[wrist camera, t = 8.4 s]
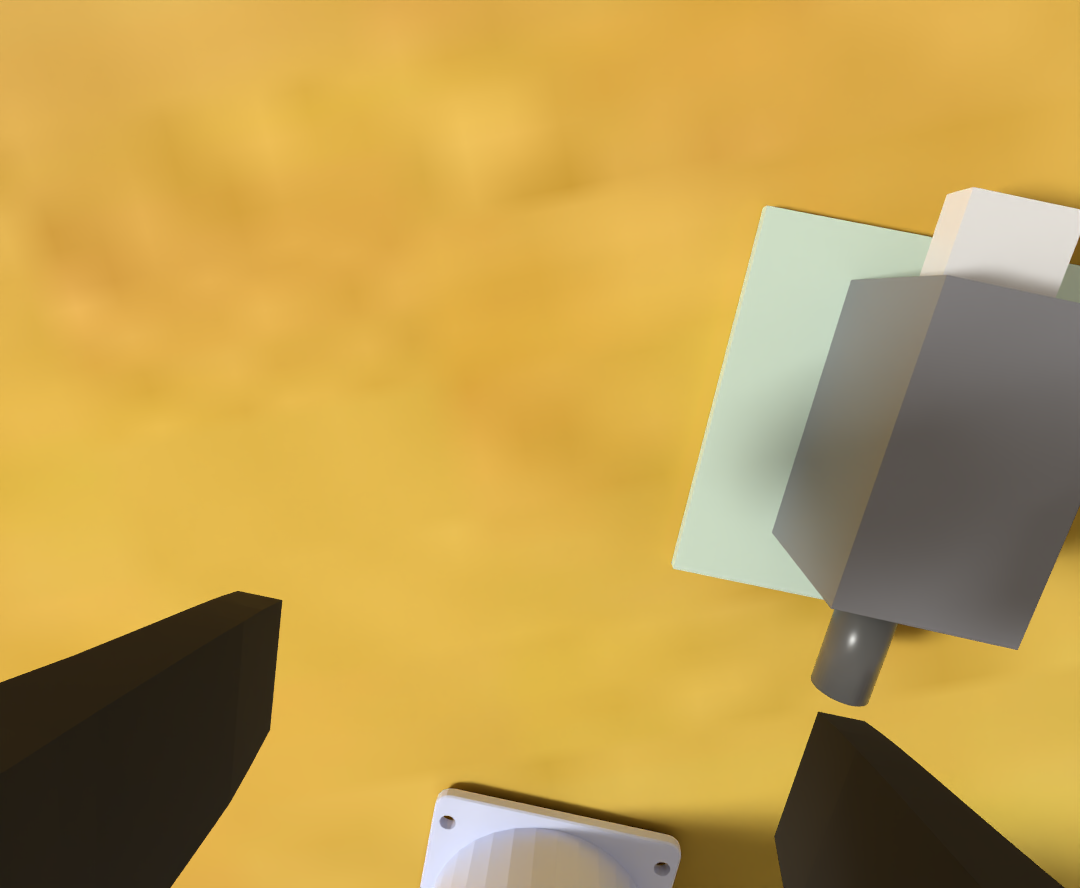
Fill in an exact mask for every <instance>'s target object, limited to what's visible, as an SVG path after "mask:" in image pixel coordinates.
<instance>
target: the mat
mask: <svg viewBox="0 0 1080 888" xmlns="http://www.w3.org/2000/svg"><path fill="white" fill-rule="evenodd" d="M932 238H933V237H928V236H923V235H918V234H913V233H907V232H902V231H897V230H892V229H887V228H881V227H876V226H871V225H866V224H861V223H855V222H850V221H845V220H840V219H835V218H829V217H824V216H819V215H814V214H808V213H803V212H798V211H793V210H788V209H782V208H777V207H772V206H765V207H763V210H762V214H761V218H760V221H759V225H758V229H757V233H756V237H755V241H754V245H753V249H752V253H751V256H750V260H749V264H748V268H747V272H746V276H745V280H744V284H743V287H742V291H741V295H740V299H739V303H738V307H737V311H736V315H735V318H734V322H733V326H732V330H731V334H730V338H729V342H728V346H727V349H726V353H725V357H724V361H723V365H722V369H721V373H720V377H719V380H718V384H717V388H716V392H715V396H714V400H713V404H712V408H711V412H710V415H709V419H708V423H707V427H706V431H705V435H704V439H703V443H702V446H701V450H700V454H699V458H698V462H697V466H696V470H695V474H694V477H693V481H692V485H691V489H690V493H689V497H688V501H687V505H686V508H685V512H684V516H683V520H682V524H681V528H680V532H679V536H678V539H677V543H676V547H675V551H674V555H673V559H672V566H673V569H678V570H682V571H687V572H692V573H697V574H702V575H707V576H712V577H716V578H721V579H726V580H731V581H736V582H741V583H746V584H750V585H755V586H760V587H765V588H770V589H775V590H780V591H784V592H789V593H794V594H799V595H804V596H809V597H814V598H818V599H823V598H822V596H821V595H820V594H819V592H818V591H817V590H816V589H815V587H814V586H813V585H812V584H811V582H810V581H809V580H808V578H807V577H806V576H805V575H804V573H803V572H802V571H801V569H800V568H799V567H798V566H797V564H796V563H795V562H794V560H793V559H792V558H791V557H790V555H789V554H788V553H787V551H786V550H785V549H784V548H783V546H782V545H781V544H780V542H779V541H778V540H777V539H776V537H775V536H774V535H773V534H772V530H773V527H774V524H775V521H776V518H777V514H778V511H779V508H780V505H781V502H782V498H783V495H784V492H785V489H786V486H787V483H788V479H789V476H790V473H791V470H792V467H793V463H794V460H795V457H796V454H797V451H798V448H799V444H800V441H801V438H802V435H803V432H804V428H805V425H806V422H807V419H808V416H809V412H810V409H811V406H812V403H813V400H814V397H815V393H816V390H817V387H818V384H819V381H820V377H821V374H822V371H823V368H824V365H825V362H826V358H827V355H828V352H829V349H830V346H831V342H832V339H833V336H834V333H835V330H836V326H837V323H838V320H839V317H840V314H841V311H842V307H843V304H844V301H845V298H846V295H847V291H848V288H849V285H850V282H851V280H859V279H877V278H896V277H915V276H920V273H921V270H922V267H923V264H924V261H925V258H926V255H927V252H928V249H929V246H930V243H931V241H932ZM1056 298H1058V299H1063V300H1068V301H1072V302H1077V303H1080V266H1079V265H1074V264H1069V265H1068V267H1067V270H1066V272H1065V275H1064V277H1063V280H1062V283H1061V285H1060V288H1059V290H1058V293H1057V295H1056ZM823 600H824V599H823Z"/></svg>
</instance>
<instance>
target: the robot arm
mask: <svg viewBox="0 0 1080 888" xmlns="http://www.w3.org/2000/svg"><path fill="white" fill-rule="evenodd" d="M281 608H282V600H279V599H274V598H269V597H264V596H260V595H255V594H250V593H245V592H240V591H236V592H233V593H230V594H227V595H224V596H221V597H218V598H216V599H213V600H210V601H208V602H205V603H202V604H200V605H197V606H195V607H192V608H190V609H187V610H185V611H183V612H180V613H178V614H175V615H173V616H170V617H168V618H165V619H163V620H161V621H158V622H156V623H153V624H151V625H148V626H146V627H143V628H141V629H138V630H136V631H134V632H131V633H129V634H126V635H124V636H121V637H119V638H116V639H114V640H111V641H109V642H106V643H104V644H101V645H99V646H96V647H94V648H91V649H89V650H86V651H84V652H82V653H79V654H76V655H74V656H71V657H69V658H66V659H63V660H61V661H58V662H55V663H52V664H50V665H47V666H44V667H41V668H39V669H36V670H33V671H31V672H28V673H25V674H22V675H20V676H17V677H14V678H12V679H9V680H6V681H3V682H1V683H0V888H170V887H171V886H172V885H173V883H174V882H175V880H176V879H177V878H178V876H179V875H180V873H181V872H182V871H183V869H184V868H185V866H186V865H187V864H188V862H189V861H190V859H191V858H192V856H193V855H194V854H195V852H196V851H197V849H198V848H199V846H200V845H201V844H202V842H203V841H204V839H205V838H206V836H207V835H208V834H209V832H210V831H211V829H212V828H213V827H214V825H215V824H216V822H217V821H218V819H219V818H220V816H221V815H222V814H223V812H224V811H225V809H226V808H227V806H228V805H229V803H230V802H231V800H232V798H233V796H234V795H235V793H236V791H237V789H238V787H239V786H240V784H241V782H242V780H243V779H244V777H245V775H246V773H247V772H248V770H249V768H250V766H251V764H252V762H253V760H254V759H255V757H256V755H257V753H258V751H259V749H260V747H261V745H262V744H263V742H264V740H265V738H266V736H267V734H268V732H269V731H270V724H271V713H272V703H273V692H274V682H275V671H276V661H277V650H278V639H279V629H280V618H281ZM444 816H451V817H453V818H454V819H453V820H449V819H446V818H445V817H444ZM774 837H775V843H776V848H777V854H778V860H779V865H780V871H781V876H782V882H783V887H784V888H1064V887H1063V886H1062V885H1061V884H1059V883H1058V882H1057V881H1056V880H1054V879H1053V878H1052V877H1051V876H1050V875H1048V874H1047V873H1046V872H1045V871H1044V870H1042V869H1041V868H1040V867H1039V866H1038V865H1036V864H1035V863H1034V862H1033V861H1032V860H1031V859H1029V858H1028V857H1027V856H1026V855H1025V854H1023V853H1022V852H1021V851H1020V850H1019V849H1017V848H1016V847H1015V846H1014V845H1013V844H1012V843H1010V842H1009V841H1008V840H1007V839H1006V838H1005V837H1003V836H1002V835H1001V834H1000V833H999V832H998V831H996V830H995V829H994V828H993V827H992V826H991V825H989V824H988V823H987V822H986V821H985V820H984V819H982V818H981V817H980V816H979V815H978V814H977V813H975V812H974V811H973V810H972V809H971V808H970V807H968V806H967V805H966V804H965V803H964V802H963V801H961V800H960V799H959V798H958V797H957V796H956V795H954V794H953V793H952V792H951V791H950V790H949V789H947V788H946V787H945V786H944V785H943V784H942V783H941V782H939V781H938V780H937V779H936V778H935V777H934V776H932V775H931V774H930V773H929V772H928V771H926V770H925V769H924V768H923V767H922V766H921V765H919V764H918V763H917V762H916V761H915V760H913V759H912V758H911V757H910V756H909V755H907V754H906V753H905V752H904V751H903V750H901V749H900V748H899V747H898V746H897V745H895V744H894V743H893V742H892V741H890V740H889V739H888V738H887V737H885V736H884V735H883V734H881V733H880V732H879V731H877V730H876V729H875V728H873V727H872V726H870V725H869V724H868V723H866V722H865V721H860V720H856V719H851V718H846V717H841V716H836V715H832V714H827V713H822V712H818V714H817V717H816V720H815V722H814V725H813V728H812V731H811V734H810V737H809V740H808V742H807V745H806V748H805V751H804V754H803V757H802V759H801V762H800V765H799V768H798V771H797V774H796V777H795V779H794V782H793V785H792V788H791V791H790V794H789V796H788V799H787V802H786V805H785V808H784V811H783V814H782V816H781V819H780V822H779V825H778V828H777V831H776V833H775V836H774ZM680 860H681V850H680V845H679V843H678V841H677V840H676V839H675V838H674V837H673V836H670V835H667V834H663V833H658V832H653V831H649V830H644V829H639V828H635V827H630V826H626V825H621V824H616V823H612V822H607V821H602V820H598V819H593V818H588V817H584V816H579V815H575V814H570V813H565V812H561V811H556V810H551V809H547V808H542V807H537V806H533V805H528V804H524V803H519V802H514V801H510V800H505V799H500V798H496V797H491V796H486V795H482V794H477V793H472V792H468V791H463V790H459V789H452V788H448V789H445V790H443V791H442V792H440V793H439V795H438V797H437V800H436V804H435V808H434V814H433V819H432V825H431V830H430V836H429V841H428V847H427V852H426V858H425V863H424V869H423V874H422V880H421V885H420V888H672V887H673V883H674V880H675V877H676V873H677V870H678V866H679V863H680ZM659 862H664V863H666V864H664V865H657V863H659Z"/></svg>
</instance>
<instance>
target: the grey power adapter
mask: <svg viewBox="0 0 1080 888" xmlns="http://www.w3.org/2000/svg"><path fill="white" fill-rule="evenodd" d="M1079 236H1080V209H1076V208H1071V207H1066V206H1061V205H1056V204H1052V203H1047V202H1042V201H1037V200H1033V199H1028V198H1023V197H1018V196H1014V195H1009V194H1004V193H999V192H994V191H990V190H985V189H980V188H975V187H972V188H968V189H965V190H961V191H957V192H954V193H950V194H947V196H946V199H945V202H944V205H943V208H942V211H941V214H940V217H939V220H938V223H937V226H936V229H935V232H934V235H933V238H932V241H931V243H930V246H929V249H928V252H927V255H926V258H925V261H924V264H923V267H922V270H921V273H920V276H915V277H896V278H877V279H859V280H851V282H850V285H849V288H848V291H847V295H846V298H845V301H844V304H843V307H842V311H841V314H840V317H839V320H838V323H837V326H836V330H835V333H834V336H833V339H832V342H831V346H830V349H829V352H828V355H827V358H826V362H825V365H824V368H823V371H822V374H821V377H820V381H819V384H818V387H817V390H816V393H815V397H814V400H813V403H812V406H811V409H810V412H809V416H808V419H807V422H806V425H805V428H804V432H803V435H802V438H801V441H800V444H799V448H798V451H797V454H796V457H795V460H794V463H793V467H792V470H791V473H790V476H789V479H788V483H787V486H786V489H785V492H784V495H783V498H782V502H781V505H780V508H779V511H778V514H777V518H776V521H775V524H774V527H773V530H772V534H773V535H774V536H775V537H776V539H777V540H778V541H779V542H780V544H781V545H782V546H783V548H784V549H785V550H786V551H787V553H788V554H789V555H790V557H791V558H792V559H793V560H794V562H795V563H796V564H797V566H798V567H799V568H800V569H801V571H802V572H803V573H804V575H805V576H806V577H807V578H808V580H809V581H810V582H811V584H812V585H813V586H814V587H815V589H816V590H817V591H818V592H819V594H820V595H821V596H822V598H823V599H824V600H825V601H826V603H827V604H828V605H829V607H830V608H831V609H834V612H833V615H832V618H831V621H830V624H829V626H828V629H827V632H826V635H825V638H824V641H823V644H822V646H821V649H820V652H819V655H818V658H817V661H816V664H815V666H814V669H813V672H812V675H811V681H812V683H813V684H814V685H815V687H816V688H817V689H819V690H820V691H821V692H822V693H824V694H825V695H827V696H828V697H830V698H832V699H834V700H836V701H838V702H841V703H844V704H847V705H851V706H865V705H867V704H868V702H869V699H870V697H871V694H872V691H873V689H874V686H875V683H876V681H877V678H878V675H879V673H880V670H881V667H882V665H883V662H884V659H885V657H886V654H887V651H888V649H889V646H890V644H891V641H892V638H893V636H894V633H895V630H896V628H897V625H898V623H899V624H903V625H907V626H912V627H916V628H921V629H925V630H930V631H934V632H939V633H943V634H948V635H952V636H957V637H961V638H966V639H970V640H975V641H979V642H984V643H988V644H993V645H997V646H1002V647H1006V648H1011V649H1015V650H1018V648H1019V646H1020V643H1021V641H1022V639H1023V636H1024V634H1025V632H1026V629H1027V627H1028V625H1029V622H1030V620H1031V618H1032V615H1033V613H1034V611H1035V608H1036V606H1037V604H1038V601H1039V599H1040V597H1041V594H1042V592H1043V590H1044V588H1045V585H1046V583H1047V581H1048V578H1049V576H1050V574H1051V571H1052V569H1053V567H1054V564H1055V562H1056V560H1057V557H1058V555H1059V553H1060V550H1061V548H1062V546H1063V543H1064V541H1065V539H1066V536H1067V534H1068V532H1069V529H1070V527H1071V525H1072V522H1073V520H1074V518H1075V516H1076V513H1077V511H1078V509H1079V506H1080V303H1077V302H1072V301H1068V300H1063V299H1058V298H1056V295H1057V293H1058V290H1059V288H1060V285H1061V283H1062V280H1063V277H1064V275H1065V272H1066V270H1067V267H1068V265H1069V262H1070V259H1071V257H1072V254H1073V252H1074V249H1075V247H1076V244H1077V241H1078V239H1079Z"/></svg>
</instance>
